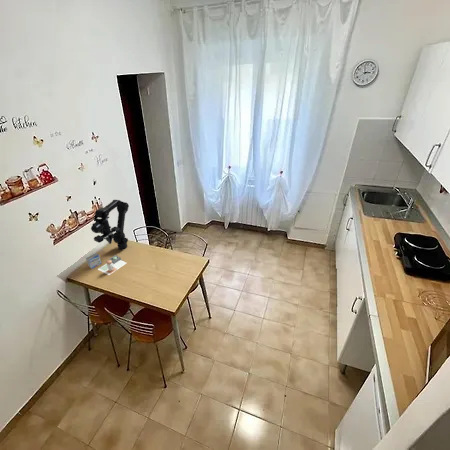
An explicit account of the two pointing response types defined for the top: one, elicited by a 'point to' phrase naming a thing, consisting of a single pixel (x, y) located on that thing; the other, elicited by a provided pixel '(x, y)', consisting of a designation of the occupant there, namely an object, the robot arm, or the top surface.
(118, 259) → the board with colored squares
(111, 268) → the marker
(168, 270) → the top surface
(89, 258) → the medicine box
